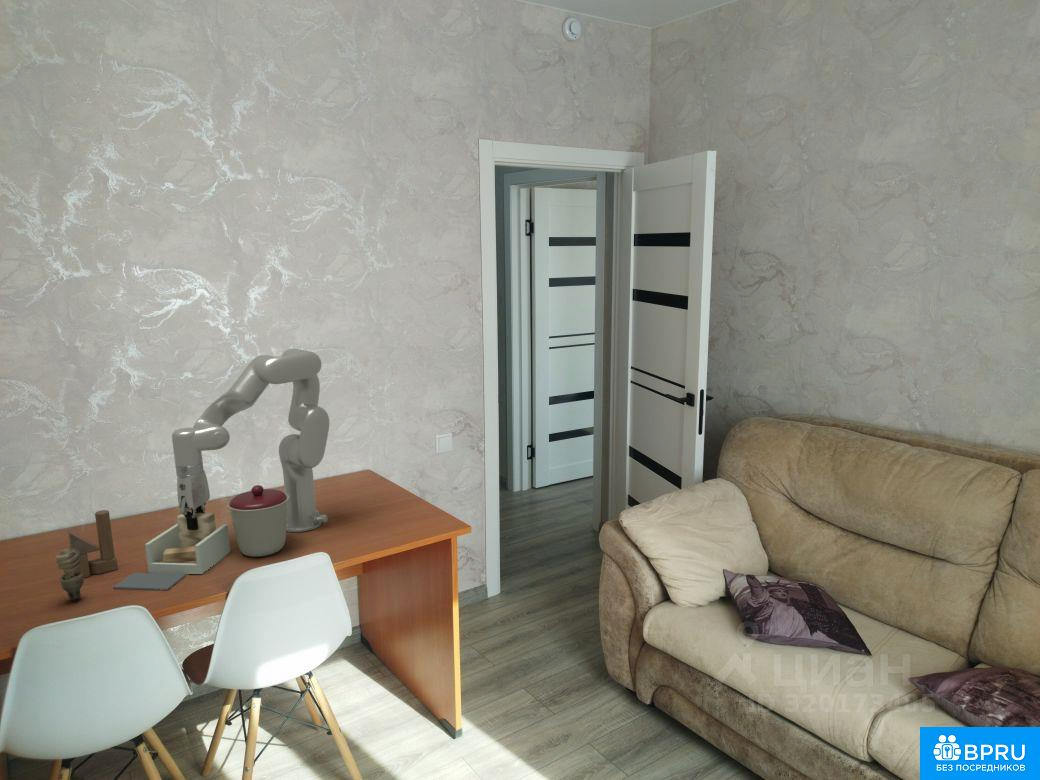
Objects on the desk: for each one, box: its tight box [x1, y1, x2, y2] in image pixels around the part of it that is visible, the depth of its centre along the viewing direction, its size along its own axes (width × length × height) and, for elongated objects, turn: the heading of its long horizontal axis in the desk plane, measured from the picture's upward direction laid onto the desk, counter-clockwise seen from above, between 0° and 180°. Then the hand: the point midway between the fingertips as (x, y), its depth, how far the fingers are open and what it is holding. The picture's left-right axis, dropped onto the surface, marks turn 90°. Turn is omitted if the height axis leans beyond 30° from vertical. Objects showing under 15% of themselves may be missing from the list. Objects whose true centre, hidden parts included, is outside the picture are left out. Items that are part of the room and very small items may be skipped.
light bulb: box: [55, 547, 85, 602], centre depth 195 cm, size 6×6×15 cm
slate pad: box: [112, 572, 187, 591], centre depth 206 cm, size 16×9×1 cm, turn 84°
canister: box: [226, 484, 289, 558], centre depth 225 cm, size 18×18×21 cm
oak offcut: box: [163, 546, 196, 563], centre depth 215 cm, size 10×4×3 cm, turn 105°
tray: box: [144, 523, 231, 575], centre depth 219 cm, size 16×17×9 cm
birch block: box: [176, 512, 217, 547], centre depth 223 cm, size 10×4×13 cm, turn 84°
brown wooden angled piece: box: [67, 509, 119, 579], centre depth 212 cm, size 4×11×18 cm, turn 129°
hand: (196, 526), depth 222 cm, fingers closed on birch block, 3 cm apart
